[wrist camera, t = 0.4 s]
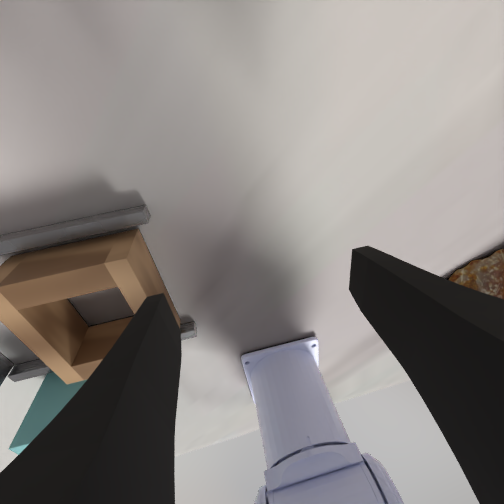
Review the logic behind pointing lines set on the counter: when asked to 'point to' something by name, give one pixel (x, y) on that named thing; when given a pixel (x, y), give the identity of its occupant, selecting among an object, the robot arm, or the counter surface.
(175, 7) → the counter surface
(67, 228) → the backstop
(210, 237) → the counter surface
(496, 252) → the decorative stone
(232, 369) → the counter surface
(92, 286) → the brown rectangular frame
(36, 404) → the aqua rectangular prism
